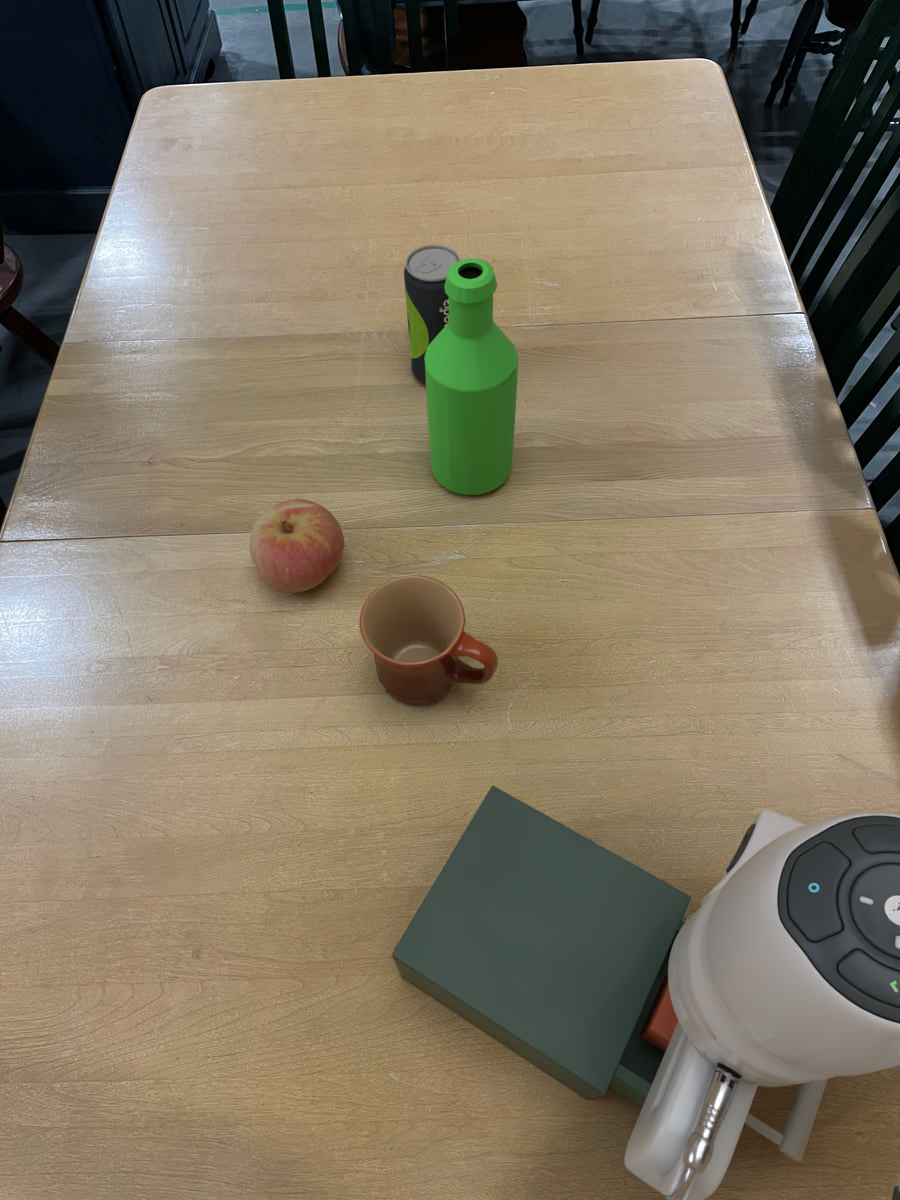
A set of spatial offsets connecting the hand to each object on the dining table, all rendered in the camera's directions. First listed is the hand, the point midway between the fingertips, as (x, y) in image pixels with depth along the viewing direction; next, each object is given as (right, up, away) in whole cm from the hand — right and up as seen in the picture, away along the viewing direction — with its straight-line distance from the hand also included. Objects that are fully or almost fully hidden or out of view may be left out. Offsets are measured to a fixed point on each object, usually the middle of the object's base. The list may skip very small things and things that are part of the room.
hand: (700, 1015), depth 53 cm
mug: (-17, +18, +25) cm, 36 cm away
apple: (-31, +29, +32) cm, 53 cm away
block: (0, -3, +4) cm, 5 cm away
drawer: (0, -5, +9) cm, 10 cm away
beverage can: (-17, +53, +47) cm, 73 cm away
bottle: (-13, +40, +39) cm, 58 cm away
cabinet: (-9, -1, +13) cm, 16 cm away
